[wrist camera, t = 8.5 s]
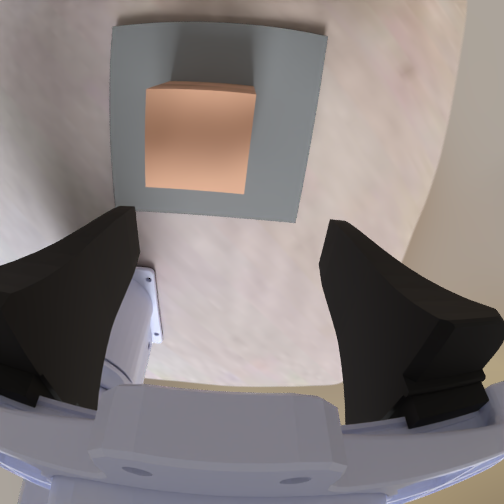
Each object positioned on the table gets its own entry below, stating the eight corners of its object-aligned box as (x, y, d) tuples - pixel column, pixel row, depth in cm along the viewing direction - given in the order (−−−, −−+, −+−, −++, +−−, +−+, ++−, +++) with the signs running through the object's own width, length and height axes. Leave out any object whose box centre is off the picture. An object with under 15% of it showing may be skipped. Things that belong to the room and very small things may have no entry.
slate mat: (293, 217, 23) (295, 223, 22) (119, 204, 22) (115, 209, 21) (324, 37, 15) (327, 36, 15) (117, 27, 14) (112, 26, 14)
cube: (244, 162, 20) (243, 194, 15) (167, 156, 19) (145, 186, 15) (253, 86, 17) (256, 94, 13) (170, 81, 16) (146, 88, 12)
